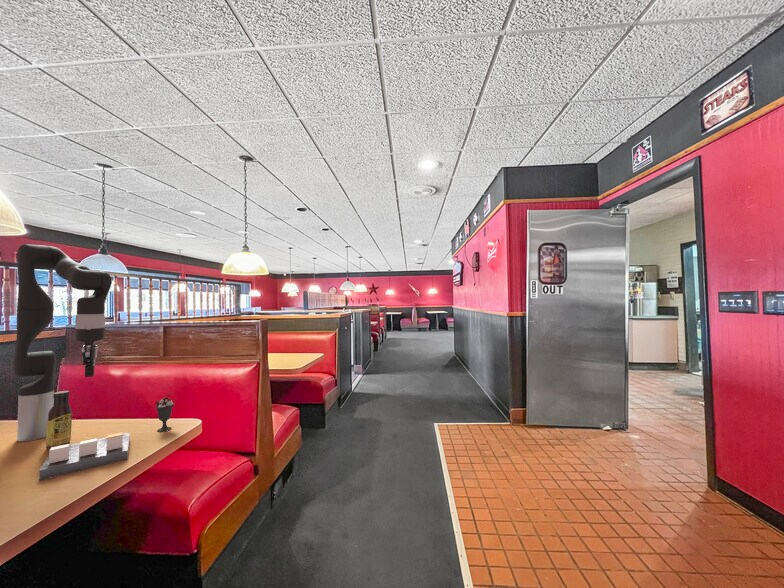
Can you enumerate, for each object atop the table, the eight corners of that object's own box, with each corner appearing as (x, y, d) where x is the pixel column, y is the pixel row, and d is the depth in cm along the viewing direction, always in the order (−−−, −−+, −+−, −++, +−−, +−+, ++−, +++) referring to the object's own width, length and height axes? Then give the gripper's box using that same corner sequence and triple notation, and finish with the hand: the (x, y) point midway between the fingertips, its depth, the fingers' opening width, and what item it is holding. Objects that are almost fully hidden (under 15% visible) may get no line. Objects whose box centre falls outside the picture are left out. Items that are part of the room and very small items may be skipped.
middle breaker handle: (80, 453, 101) (80, 441, 101) (97, 450, 104) (97, 438, 104) (78, 456, 99) (79, 444, 99) (96, 453, 102) (96, 440, 102)
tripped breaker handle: (106, 448, 105) (107, 435, 105) (122, 444, 108) (123, 432, 108) (106, 450, 103) (106, 437, 103) (122, 447, 106) (122, 434, 106)
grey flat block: (53, 456, 106) (53, 447, 106) (129, 440, 119) (129, 432, 119) (39, 480, 92) (39, 470, 92) (127, 459, 105) (127, 450, 105)
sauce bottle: (53, 452, 109) (55, 395, 110) (40, 450, 111) (42, 394, 111) (76, 443, 116) (77, 390, 116) (63, 442, 117) (64, 389, 117)
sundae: (178, 427, 131) (178, 391, 131) (161, 433, 124) (162, 396, 125) (167, 425, 133) (167, 390, 133) (150, 431, 126) (151, 394, 127)
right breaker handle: (51, 460, 97) (51, 447, 97) (69, 456, 100) (69, 443, 100) (49, 463, 95) (49, 450, 95) (67, 459, 98) (68, 446, 98)
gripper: (78, 326, 112) (77, 374, 111) (71, 328, 101) (70, 382, 101) (106, 325, 116) (105, 371, 116) (103, 327, 106) (102, 378, 106)
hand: (89, 376), depth 108 cm, fingers closed
